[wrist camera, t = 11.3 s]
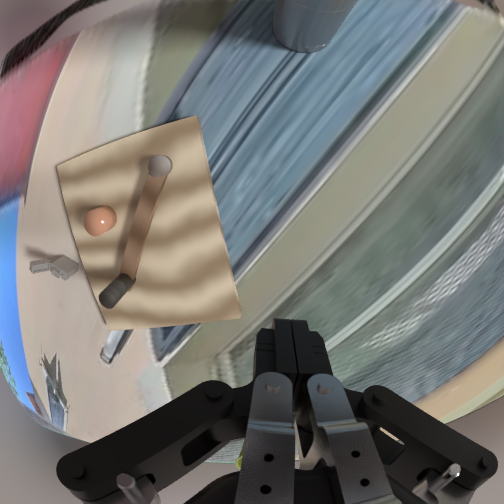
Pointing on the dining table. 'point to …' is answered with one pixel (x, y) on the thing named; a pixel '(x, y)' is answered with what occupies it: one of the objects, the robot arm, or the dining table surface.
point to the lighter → (56, 267)
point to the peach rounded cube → (100, 220)
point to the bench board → (154, 229)
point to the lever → (138, 231)
